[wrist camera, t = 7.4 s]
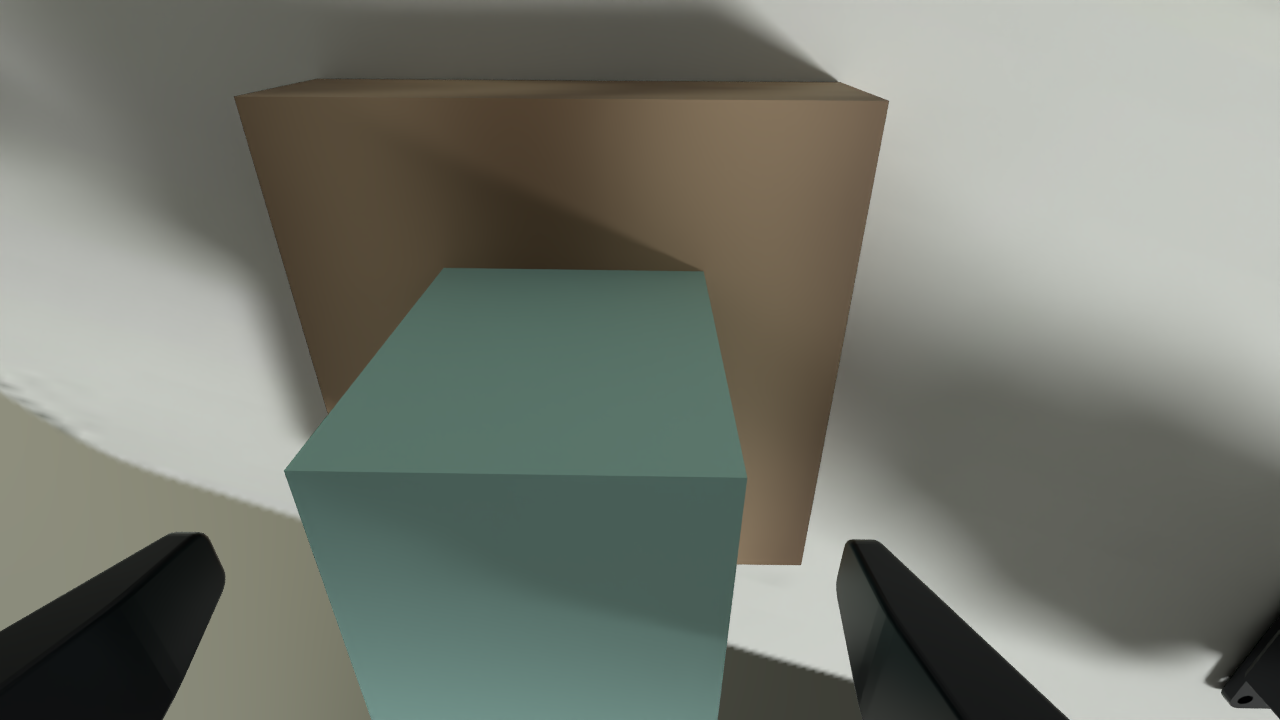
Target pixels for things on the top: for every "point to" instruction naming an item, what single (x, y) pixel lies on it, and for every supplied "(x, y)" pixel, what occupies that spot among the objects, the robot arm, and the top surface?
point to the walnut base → (590, 225)
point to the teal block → (534, 501)
